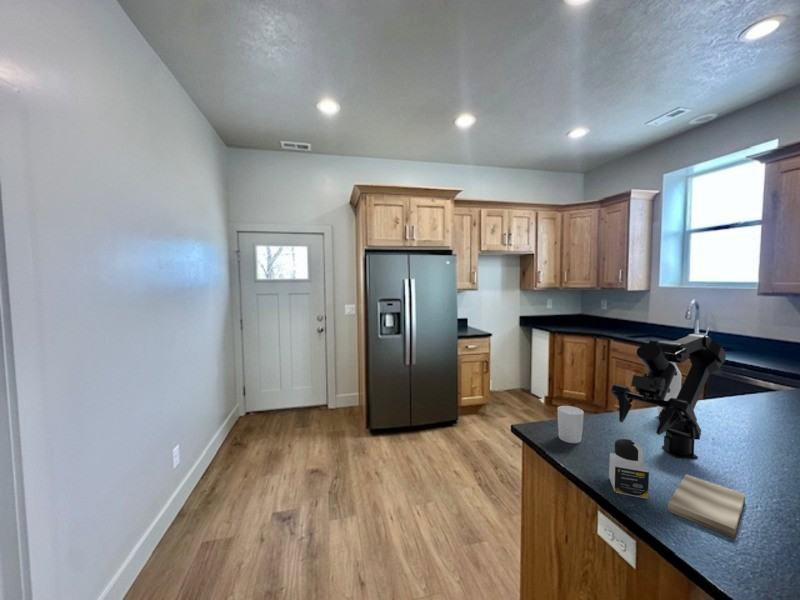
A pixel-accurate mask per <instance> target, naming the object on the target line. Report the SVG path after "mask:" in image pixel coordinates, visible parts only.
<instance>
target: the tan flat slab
mask: <svg viewBox="0 0 800 600" xmlns="http://www.w3.org/2000/svg"><path fill="white" fill-rule="evenodd" d="M667 502H668V503H667V511H668V512H669V513H672V514H675V515H676V516H679V517H681V518H684V519H686V520H689V521H691V522H694V523H696V524H699V525H701V526H703V527H706V528H708V529H711V530H713V531H716V532H718V533H720V534H722V535H724V536H725V535H726V536H727V535H728V536H727V537H730V538H732V539H735V538H736V531H737V527H738V524H739V521H740V518H741V514H742V511H743V507H744V506H745V504H746V494H745V493H743V492H740V491H737V490H734V489H730V488H728V487H725V486H722V485H718V484H716V483H713V482H710V481H706V480H704V479H701V478H698V477H695V476H692V475H689V474H685V476H684V477H683V479H682V480H681V482H680V483H679V485H678V486H677V488H676V490H675V491H674V492H673V494H672V496H671V498H670V499H669V501H667Z"/></svg>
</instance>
